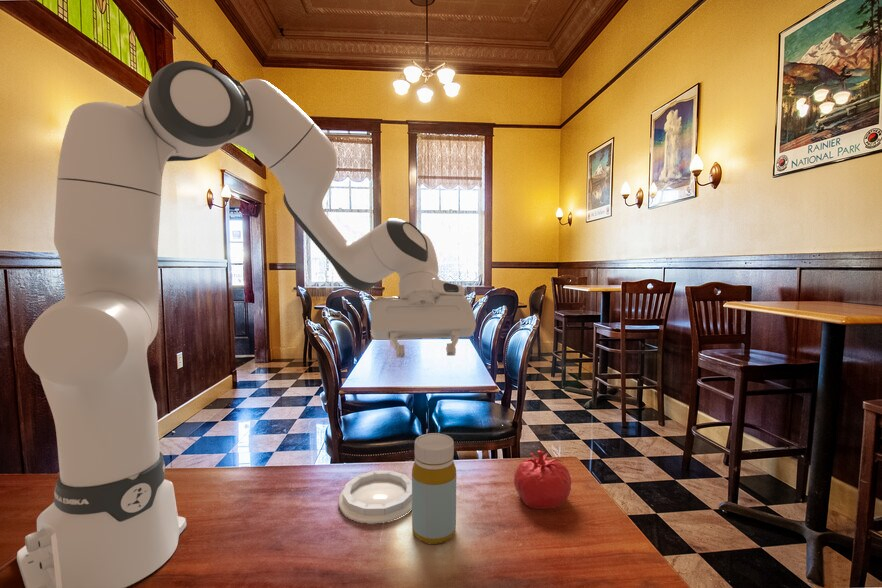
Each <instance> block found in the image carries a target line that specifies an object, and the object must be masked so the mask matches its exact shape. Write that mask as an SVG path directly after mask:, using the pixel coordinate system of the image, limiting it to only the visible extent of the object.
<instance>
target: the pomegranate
mask: <svg viewBox="0 0 882 588" xmlns="http://www.w3.org/2000/svg"><path fill="white" fill-rule="evenodd" d="M536 452H537V455H538V456H536V455H535V454H534V453H533V452H531V453H530V452H528V455H530V456H531V458H528V459H523V461H522V462H520V463H519V465H518V467H517V468H516V470H515V472H514V479H513V482H514V483H513V484H514V487H515V490H516V492H517V493H518V495H519V497H520V499H521V500H522V502H523V503H524V504H525V505H526V506H527V507H528V508H532V509H535V510H550V509H551V510H552V509H553V508H558V507H560V506H562V505H564V503H566V501H567V500H568V498H569V496H570V494H571V491H572V477H571V475H570V472H569V469H568V468H567V467H566V466H565V465H564V464H562V463H560V462H562V460H560V459H559V458H558V459H557V458H553V459H551V458H547V457H548V455H549V452H547V453H545V451H544V450H543V451H542V450H537V451H536ZM544 453H545V454H544Z"/></svg>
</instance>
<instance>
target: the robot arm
mask: <svg viewBox="0 0 882 588" xmlns="http://www.w3.org/2000/svg"><path fill="white" fill-rule="evenodd" d="M227 144H233V145H237V146H239V147H241V148H244V149H245V150H246V151H248V152H249V153H250V154H253V155H254V157H256V158H257V159H258V160H259V161H260V162H261V163H262V164H263V165H264V166H265V167H266V168H267V169H268V170H269V171H270V172H271V174H272V175H274V176H275V178H276V179H277V180H278V182H279V184H280V185H281V187H282V191H283V192H284V193H283V195H282V197H283V198H282V200H283V203H284V206H285V208H286V209H287V211H288V213H290V215H291V217H292V219H294V220H295V222H296V223H297V224H298V225H299V226H300V228H301V229H302V230H303V231H304V233H305V234H306V235H307V236H308V237H309V238H310V240H311V241H312V242H313V243H314V245H315V246H316V248H318V249H319V250H320V252H321V253H322V254H323V255H324V256H325V257H326V258H327V260H328V261H329V262H330V264H331V265H332V266H333V268H334V269H335V271H336V273H337V274H338V276H339V278H340V279H341V280H342V282H343V283H344V284H345V285H346V286H348V287H350V288H352V289H355V290H359V291H364V292H365V291H369V290H370V289H372V288H374V287H375V286H376V285H378V284H379V283H380V282H381V281H382V280H384V279H385V278H387V277H389V276H390V275H392V274H394V273H396V274H398V277H399V282H398V296H389V297H388V296H387V297H384V296H378V297H376V299H373V300H371V301H370V303H369V305H368V306H369V307H368V308H369V309H368V310H369V314H370V315H371V319H370V334H371V337H372V339H374V340H376V341H382V340H383V341H384V340H388V341H389V344H390V345H391V347H392V348H393V349H394V350H395V355H396V358H401V359H402V358H405V345H404V344H400V342H398V340H409V339H410V340H414V339H415V340H417V339H419V340H420V339H444V338H445V339H447V338H449V339H450V341H451V343H446V348H445V350H446V356H452V357H453V356H456V351H457V350H456V345H457V343H458V342H459V338H470V337H472V336H473V334H474V333H475V331H476V326H477V322H476V317H475V314H474V310H473V307H472V305H471V302H470V301H469V299H467V297H465V288H464V286H463V285H461V284H460V285H459V284H457V283H452V282H448V281H444V280H442V279H440V277H439V261H438V257H437V254H436V250H435V246H434V244H433V242H432V241H431V239H430V237H429V236H428V235H426V234H425V233H423V232H421V231H420V229H418V227H416V226H415V225H414V224H413V223H411V222H409V221H406V220H404V219H400V218H397V217H391V218H388V219H387V220H385V221H383V222H382V223H380V224H378V225H377V226H376V227H374V228H373V229H371V230H370V231H369V232H367V233H366V234H364V235H363V236H361V237H360V238H358V239H357V240H355V241H348V240H347V239H346V238H344V236H343V234H342V233H341V232H340V231H339V230H338V228H337V227H336V226H335V225H334V223H333V222H332V221H331V220H330V218H329V217H328V216H327V214H326V213H325V210H324V208H323V201H324V199H325V196H326V195H327V193H328V191H329V188H330V187H331V185H332V183H333V180H334V178H335V175H336V172H337V165H338V158H337V152H336V149H335V147H334V144H333V143H332V142H331V140H330V139H329V137H328V136H327V135H326V134H325V132H324V131H323V130H322V129H321V128H320V126H318V125H317V124H316V123H315V121H313V119H312V118H310V116H309V115H308V114H307V113H306V112H304V111H303V110H302V109H301V108H300V107H299V105H297V104H296V103H295V102H294V101H293V100H292V99H290V98H289V96H287V95H286V94H284V92H282V91H281V90H280V89H278V88H277V87H276V86H274V85H273V84H271V83H270V82H269V81H267V80H265V79H262V78H251V79H247V80H244V81H242V82H240V81H239V80H238V79H235V78H232V77H229V76H228V75H225V74H223V73H221V72H220V71H218V70H217V69H215V68H213V67H212V66H210V65H207V64H204V63H201V62H199V61H193V60H178V61H174V62H171V63H168V64H166V65H165V66H163V67H161V68H160V69H159V70H157V71H156V73H155V74H154V76H153V77H152V78H151V80H150V83H149V86H148V87H147V88H146V91H145V93H144V95H143V96H142V99H141V100H140V102H138V103H136V105H125V106H124V105H122V104H117V103H114V102H109V101H108V102H107V101H106V102H105V101H93V102H87V103H83V104H81V105H79V106H77V107H75V109H74V110H73V111H72V112H71V114H70V116H69V120H68V122H67V125H66V128H65V131H64V134H63V139H62V142H61V147H60V152H59V159H58V164H57V165H58V167H57V177H56V180H57V181H56V190H55V191H56V194H55V209H54V210H55V211H54V228H53V232H54V233H53V243H54V246H55V249H56V252H57V253H58V257H59V261H60V265H61V272H62V273H61V274H62V279H63V285H64V299H61V300H59V301H57V302H55V303H54V304H52V305H51V306H49V307H47V308H45V310H44V311H43V312H42V313H41V314H40V315H39V316H38V317H37V319H35V321H34V322H33V323H32V325H31V327H30V328H29V329H28V331H27V333H26V334H25V339H24V343H23V352H24V356H25V360H26V361H27V364H28V365H29V367H30V368H31V369H32V371H34V373H35V374H37V375H38V376H39V379H40V382H41V385H42V388H43V391H44V395H45V398H46V399H47V402H48V405H49V407H50V408H49V409H50V410H51V414H52V416H53V420H54V425H55V432H56V433H55V434H56V444H57V445H56V446H57V457H58V467H59V472H57V473H56V474H57V475H59V476H58V477H57V480H56V485H55V487H54V491H53V492H54V493H53V495H54V499H53V503H51V504H50V505H49V506H48V507H47V508H45V509H44V510H43V511H42V512H40V514H39V515H38V517H37V518H36V531H34V532H32V533H29V534H27V535H26V536H25V538H24V543H25V545H24V546H23V547H21V548H20V549H19V550H18V551H17V553H16V562H17V565H18V568H19V572H20V574H21V577H22V582H23V584H24V587H25V588H127V587H130V586H131V585H134V584H135V583H137V582H140V581H142V580H143V579H144V578H146V577H148V576H149V575H151V574H153V573H154V572H155V571H156V570H158V569H159V568H161V567H162V566H163V565H164V564H165V563H166V562H167V561H168V560H169V559H170V558H171V557H172V556H173V554H174V553H175V551H176V549H177V547H178V543H179V537H180V534H182V532H183V531H184V530H185V529H186V527H187V520H186V517H183V516H181V515H179V514H178V508H177V502H176V495H175V488H174V484H173V482H172V481H171V480H169V479H165V477H166V474H165V470H166V464H165V460H164V455H163V453H162V452H161V451H160V438H159V422H158V404H157V401H156V399H155V395H154V391H153V388H152V387H153V386H152V383H151V377H150V376H151V375H150V370H149V363H148V350H149V349H148V348H149V346H150V345H151V344H152V342H154V340H155V338H156V336H157V333H158V329H159V317H160V315H159V311H160V309H159V307H160V306H159V302H160V301H159V300H160V296H159V295H160V294H159V293H160V290H159V289H160V288H159V286H160V285H159V284H160V283H159V260H158V259H159V257H158V255H159V254H158V253H159V251H158V250H159V234H160V223H161V222H160V220H161V217H160V216H161V205H162V204H161V203H162V202H161V201H162V186H163V185H162V183H163V181H162V180H163V172H164V169H165V165H166V164H167V162H187V161H188V162H189V161H195V160H200V159H203V158H204V157H205V158H206V157H207V156H209V155H210V154H212V153H214V152H215V153H216V152H217V151H218V150H219V149H221V148H222V147H223V146H224V145H227Z"/></svg>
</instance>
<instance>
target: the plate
mask: <svg viewBox="0 0 882 588" xmlns="http://www.w3.org/2000/svg"><path fill="white" fill-rule="evenodd" d="M338 501H339V502H338V504H339V505H338V507H339V509H340V512H341V513H342V514H343V516H344V517H345V518H347V517H348V518H347V519H349V520H350V519H351V521H352V520H354V521H353V522H355V521H357V522H356V523H358V522H361V523H360V524H363V523H367V524H366V525H375V524H374V523H383V522H388V521H391V520H394V519H397V518H399V517H401V516H403V515H405V514H406V513H408V512H409V511H410V510H411V509H412V479H411V478H409V477H408V476H407V475H406V474H405V473H401V472H398V471H394V470H391V469H390V470H370V471H369V472H363V473H361V474H358V475H356V476H354V477H353V478H351V479H350V480H349V481H347V482H346V483H345V486H344V488H343V489H342V490H341V492H340V494H339V497H338ZM388 523H389V522H388ZM383 524H384V523H383Z"/></svg>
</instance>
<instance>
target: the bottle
mask: <svg viewBox="0 0 882 588" xmlns="http://www.w3.org/2000/svg"><path fill="white" fill-rule="evenodd" d="M454 451H455V442H454V439H453V438H452V437H451V436H449V435H447V434H444V433H439V432H431V433H430V432H429V433H425V434H422V435H419V436H417V437H416V438H415V440H414V463H413V466H412V469H411V481H412V511H411V526H412V527H411V528H412V529H411V530H412V533H413V535H414V537H416V538H417V539H418V540H419V539H420V540H419V541H421V542H422V541H423V543H425V542H426V543H425V544H428V543H430V545H440V544H443V543H445V542H446V541H449V540H450V539H452V538H451V537H453V535H455V533H456V529H457V527H456V526H457V469H456V468H457V467H456V465H455V462H454V453H455V452H454ZM448 539H449V540H448Z"/></svg>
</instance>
